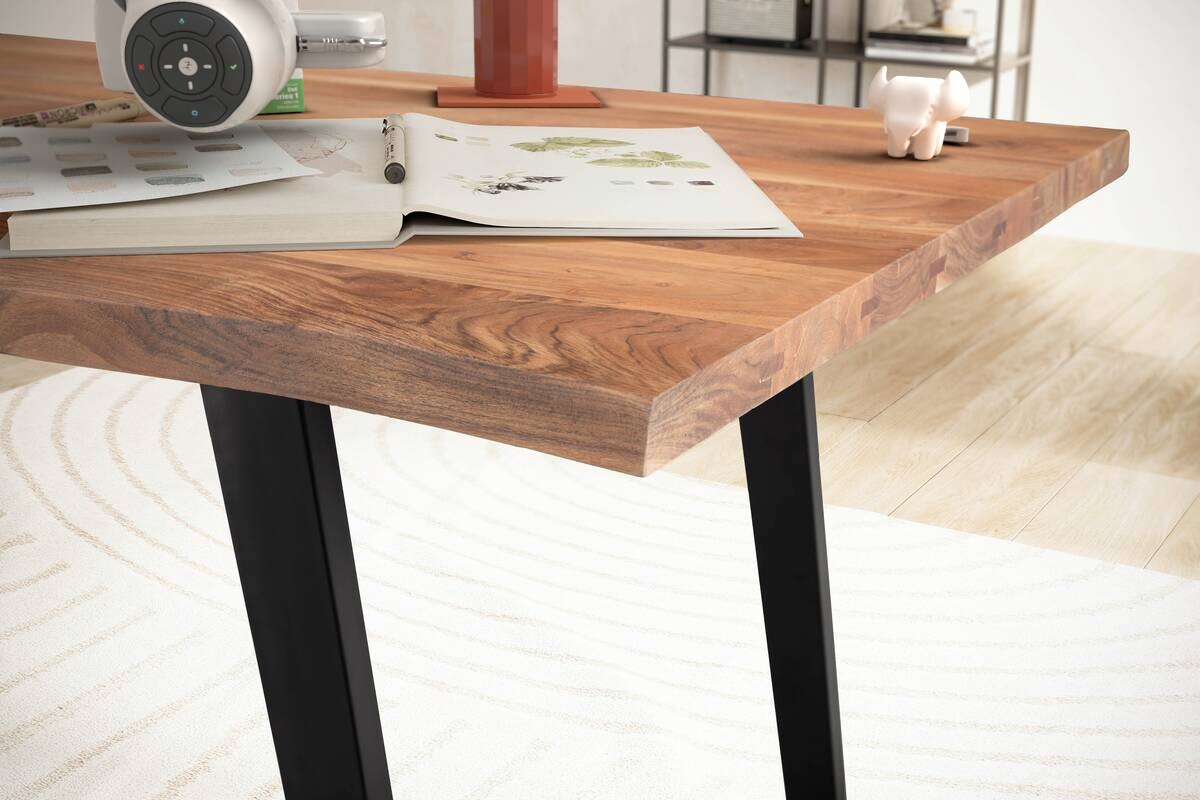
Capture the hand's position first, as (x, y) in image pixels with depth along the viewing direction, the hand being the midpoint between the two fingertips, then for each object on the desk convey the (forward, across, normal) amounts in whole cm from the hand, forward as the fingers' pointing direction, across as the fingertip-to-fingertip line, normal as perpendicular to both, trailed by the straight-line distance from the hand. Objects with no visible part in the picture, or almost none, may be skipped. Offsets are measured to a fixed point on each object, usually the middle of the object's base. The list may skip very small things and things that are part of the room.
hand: (256, 30), depth 99 cm
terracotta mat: (+12, -21, +7) cm, 25 cm away
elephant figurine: (-21, -46, +7) cm, 51 cm away
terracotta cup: (+12, -21, +7) cm, 25 cm away
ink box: (+5, +1, +7) cm, 9 cm away
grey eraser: (-13, -51, +7) cm, 53 cm away
